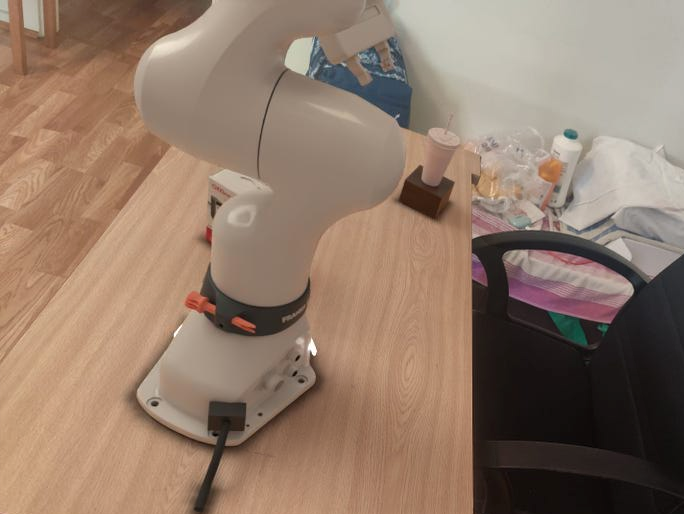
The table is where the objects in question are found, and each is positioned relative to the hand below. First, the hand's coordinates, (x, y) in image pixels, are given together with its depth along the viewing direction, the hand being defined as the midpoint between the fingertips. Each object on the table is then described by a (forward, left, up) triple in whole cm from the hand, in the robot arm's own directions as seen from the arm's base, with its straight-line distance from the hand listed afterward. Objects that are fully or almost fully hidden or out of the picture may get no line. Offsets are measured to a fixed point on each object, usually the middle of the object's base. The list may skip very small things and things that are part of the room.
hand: (379, 77), depth 106 cm
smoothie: (+4, -13, -16) cm, 21 cm away
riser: (+4, -13, -21) cm, 25 cm away
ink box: (-33, +5, -21) cm, 40 cm away
